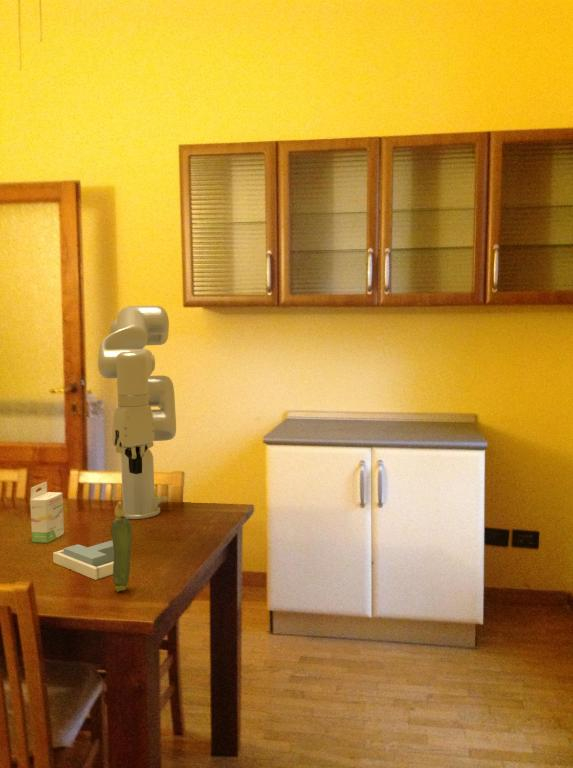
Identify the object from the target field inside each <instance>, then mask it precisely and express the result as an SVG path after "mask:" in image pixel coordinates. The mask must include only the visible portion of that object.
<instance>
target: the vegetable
mask: <svg viewBox="0 0 573 768" xmlns="http://www.w3.org/2000/svg"><path fill="white" fill-rule="evenodd" d="M114 516H115V518H114V519H113V521H112V523H111V527H110V535H111V540H112V541H113V547H114V563H113V574H112V576H113V577H112V578H113V583H114V586H115V590H116V592H117V593H118V592H124V591H126V590H127V585H128V584H129V580H130V569H131V549H132V545H133V543H132V542H133V529H132V528H133V527H132V523H131V520H130V519H127V518H126V517H124V510H123V500H122V501H121V500H120V501H118V502H117V504H116V506H115V509H114Z"/></svg>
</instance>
